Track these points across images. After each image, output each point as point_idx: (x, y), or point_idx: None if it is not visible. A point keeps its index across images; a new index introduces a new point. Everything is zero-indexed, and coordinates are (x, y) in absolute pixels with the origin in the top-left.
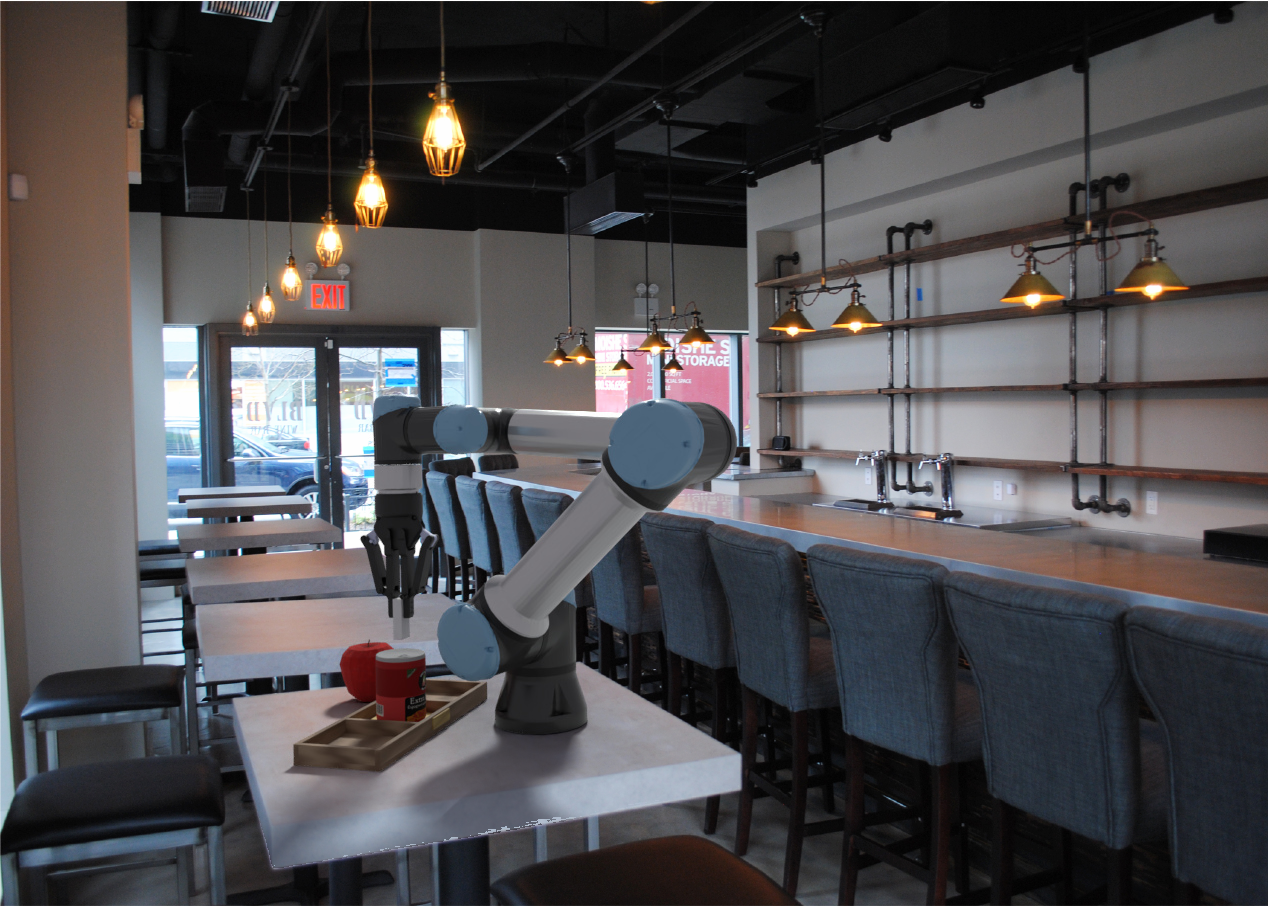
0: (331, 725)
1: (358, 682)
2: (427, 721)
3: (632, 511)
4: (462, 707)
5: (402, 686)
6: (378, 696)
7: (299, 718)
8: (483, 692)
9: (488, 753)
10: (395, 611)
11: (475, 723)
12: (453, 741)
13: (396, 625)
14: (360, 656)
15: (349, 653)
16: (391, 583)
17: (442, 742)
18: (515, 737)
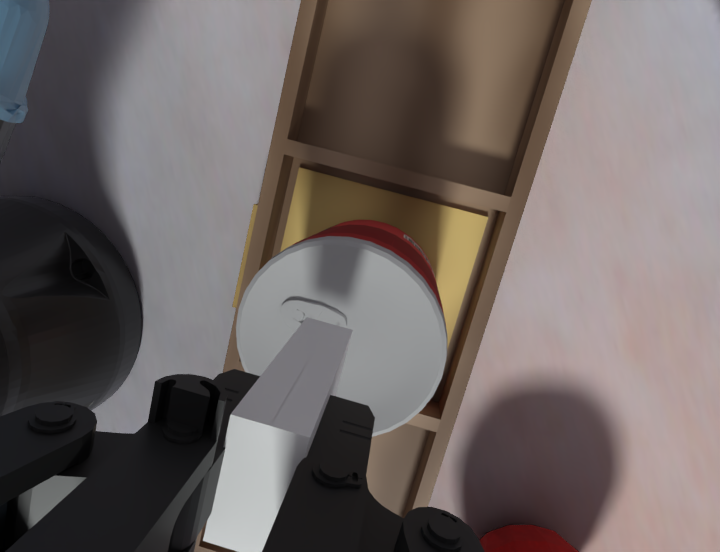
0: (539, 130)
1: (552, 542)
2: (265, 175)
3: None
4: None
5: (329, 229)
6: (422, 257)
7: (681, 397)
8: None
9: (105, 54)
10: (308, 386)
11: (189, 308)
12: (211, 158)
13: (321, 351)
14: None
15: None
16: (283, 548)
17: (236, 151)
18: (69, 184)
